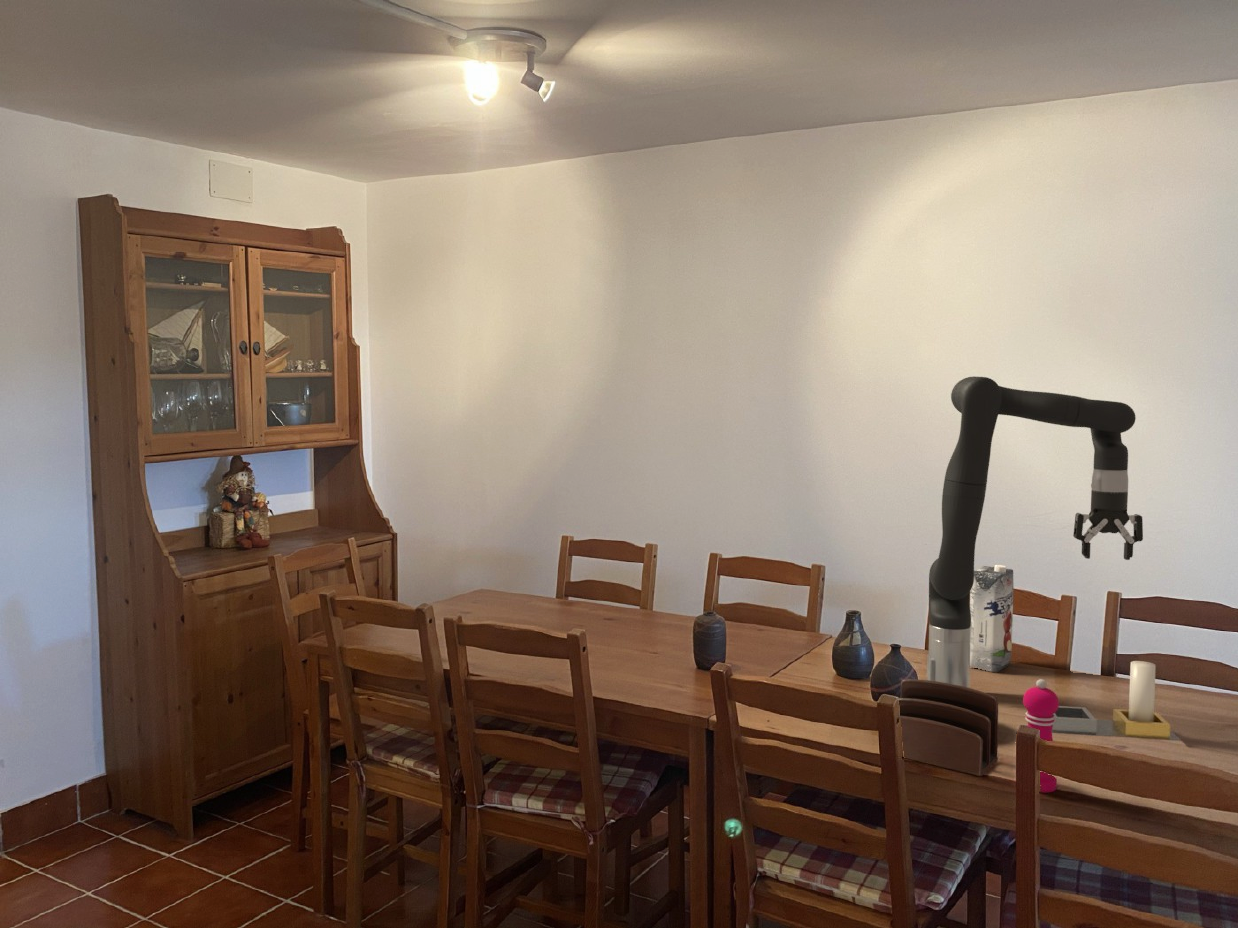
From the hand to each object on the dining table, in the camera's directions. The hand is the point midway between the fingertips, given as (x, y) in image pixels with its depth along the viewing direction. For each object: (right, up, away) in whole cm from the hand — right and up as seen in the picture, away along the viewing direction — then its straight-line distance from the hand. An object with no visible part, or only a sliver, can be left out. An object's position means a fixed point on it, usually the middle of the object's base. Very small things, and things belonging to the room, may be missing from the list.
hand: (1106, 558), depth 226 cm
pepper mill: (-36, -38, -46) cm, 69 cm away
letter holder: (-49, -37, -32) cm, 69 cm away
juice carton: (-16, -31, +28) cm, 45 cm away
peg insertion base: (-10, -35, -20) cm, 41 cm away
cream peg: (-3, -34, -21) cm, 40 cm away
